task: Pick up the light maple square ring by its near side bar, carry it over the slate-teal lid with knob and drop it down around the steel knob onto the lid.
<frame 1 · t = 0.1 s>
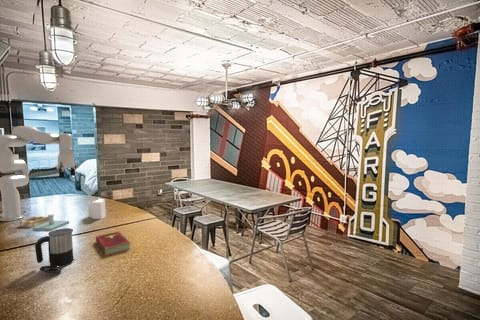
hand: (67, 176, 172), 31 cm above the counter, fingers open, 9 cm apart
ring: (35, 224, 168), on the counter
corner bracket: (98, 216, 184), on the counter
milk frother: (58, 267, 111), on the counter
hardcover book: (112, 246, 133), on the counter
lid with knob: (51, 226, 163), on the counter
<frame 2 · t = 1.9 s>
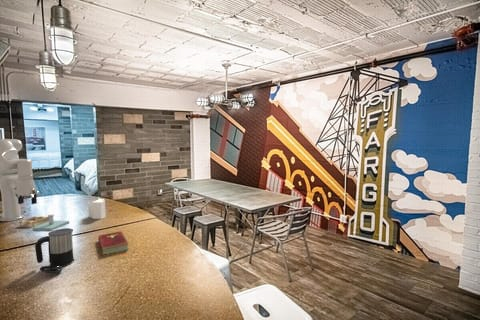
hand: (27, 203, 167), 14 cm above the counter, fingers open, 9 cm apart
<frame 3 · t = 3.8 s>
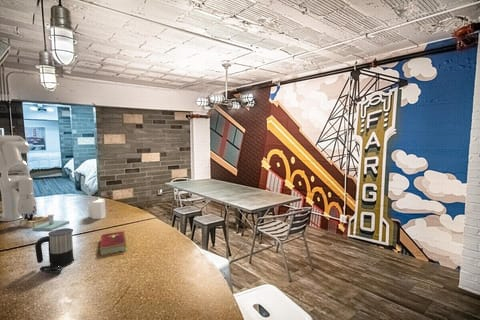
hand: (28, 223, 168), 1 cm above the counter, fingers closed on ring
ring: (35, 224, 168), on the counter, touching gripper
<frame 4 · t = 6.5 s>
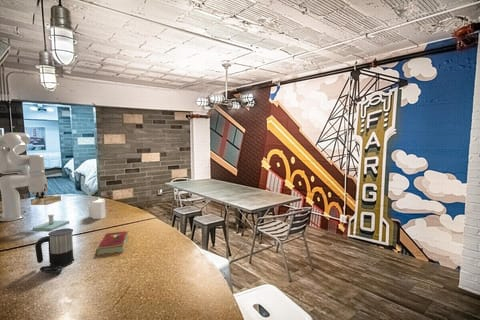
hand: (39, 201, 164), 16 cm above the counter, fingers closed on ring
ring: (46, 202, 163), point 15 cm above the counter, touching gripper
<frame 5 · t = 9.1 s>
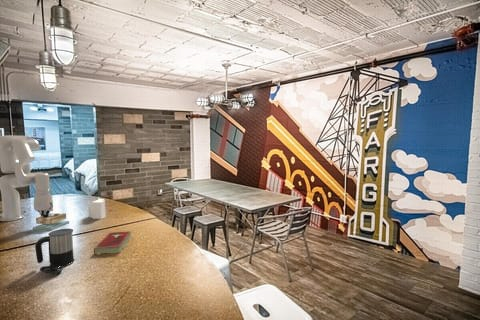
hand: (45, 220, 163), 4 cm above the counter, fingers closed on ring
ring: (51, 221, 163), point 4 cm above the counter, touching gripper
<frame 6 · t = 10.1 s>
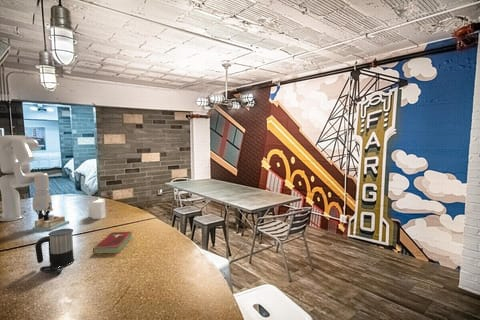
hand: (43, 219, 164), 4 cm above the counter, fingers open, 3 cm apart
ring: (50, 224, 163), point 1 cm above the counter, touching lid with knob
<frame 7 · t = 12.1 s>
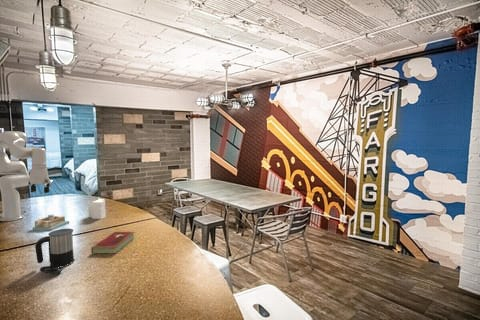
hand: (40, 192, 167), 22 cm above the counter, fingers open, 9 cm apart
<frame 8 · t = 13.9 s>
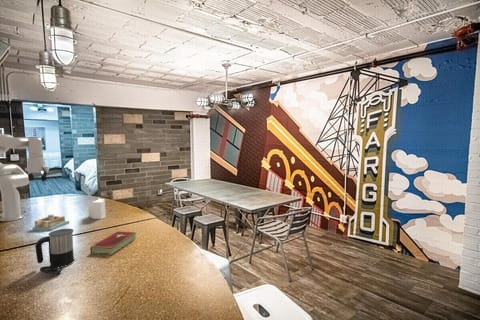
hand: (37, 180, 173), 28 cm above the counter, fingers open, 9 cm apart
at the end: ring 0.8 cm from the lid with knob (horizontally); ring point 1.5 cm above the counter; the gripper is holding nothing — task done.
